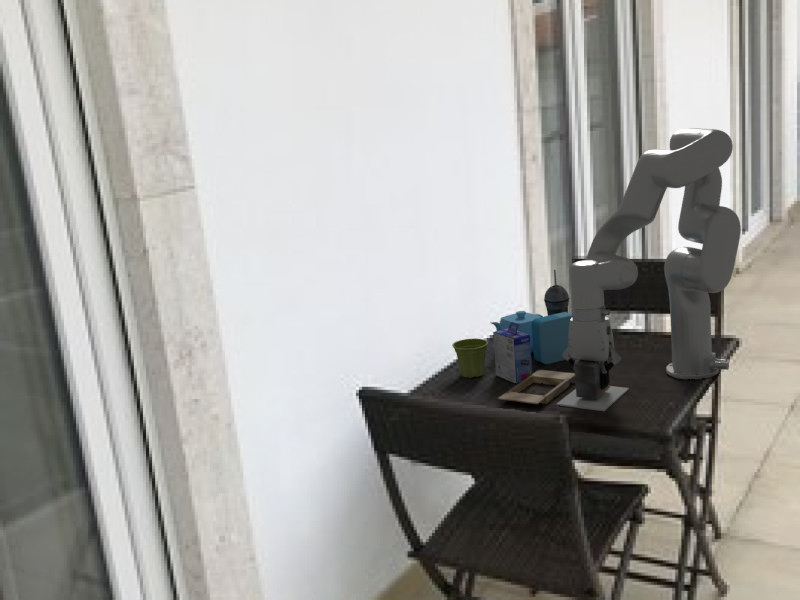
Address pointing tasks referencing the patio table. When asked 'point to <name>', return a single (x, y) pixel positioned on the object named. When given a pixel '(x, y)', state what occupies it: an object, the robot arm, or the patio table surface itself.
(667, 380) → the patio table surface
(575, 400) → the mat
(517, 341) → the ink cartridge box
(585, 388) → the walnut box
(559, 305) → the beverage cup
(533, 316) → the teapot
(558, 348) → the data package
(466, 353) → the plant pot
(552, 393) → the tan flat frame
